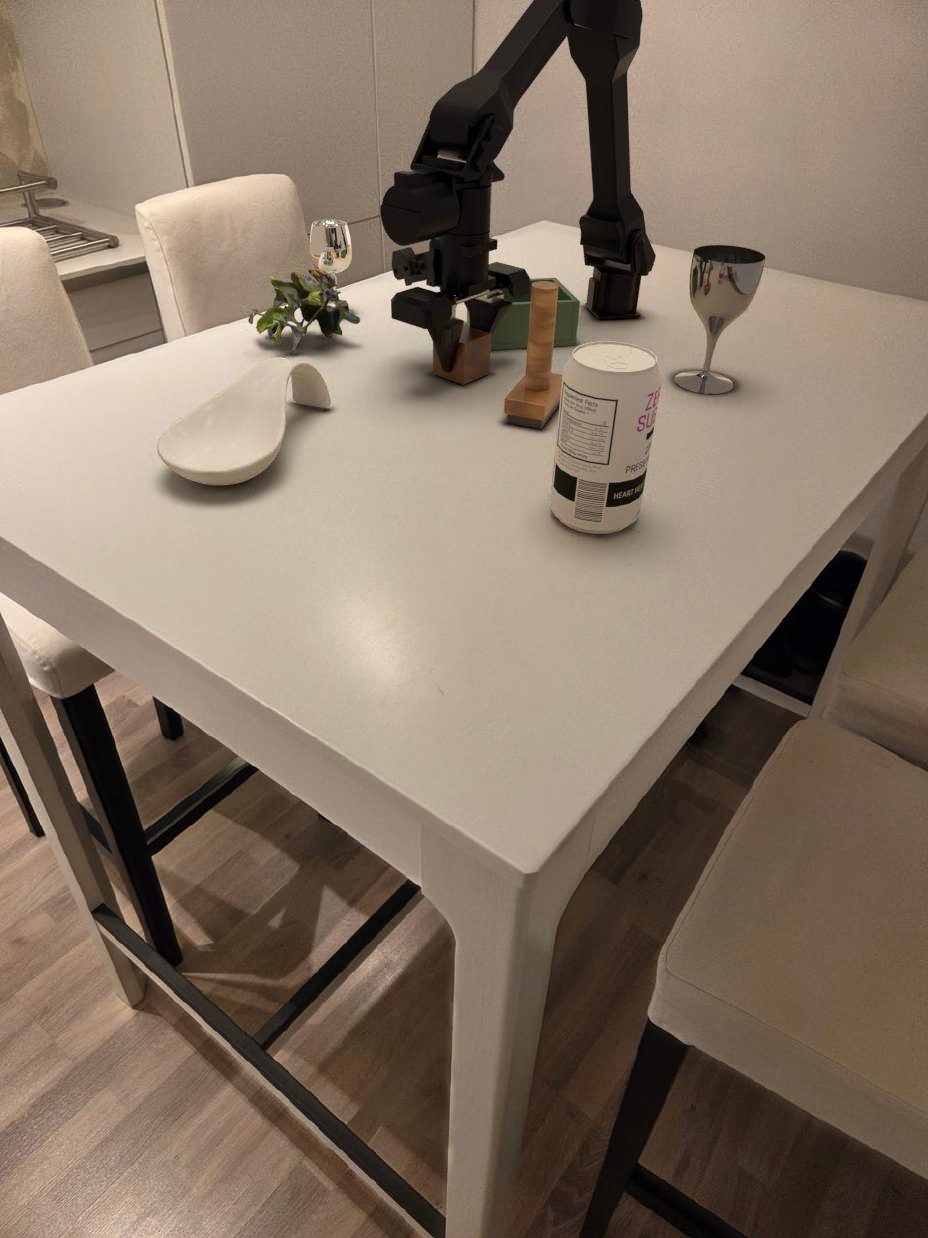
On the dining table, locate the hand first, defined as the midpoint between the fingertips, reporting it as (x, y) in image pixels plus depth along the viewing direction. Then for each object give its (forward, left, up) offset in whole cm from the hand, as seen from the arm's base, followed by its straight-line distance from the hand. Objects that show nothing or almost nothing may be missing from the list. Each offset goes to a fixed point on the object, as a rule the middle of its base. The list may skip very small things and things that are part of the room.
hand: (461, 365), depth 105 cm
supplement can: (-5, +35, -1) cm, 35 cm away
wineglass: (+13, -25, -1) cm, 28 cm away
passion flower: (+18, -13, -1) cm, 22 cm away
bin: (-11, -13, -1) cm, 17 cm away
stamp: (-6, +12, -1) cm, 13 cm away
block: (0, 0, -1) cm, 1 cm away
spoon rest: (+25, +16, -1) cm, 30 cm away
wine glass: (-29, +7, -1) cm, 30 cm away
